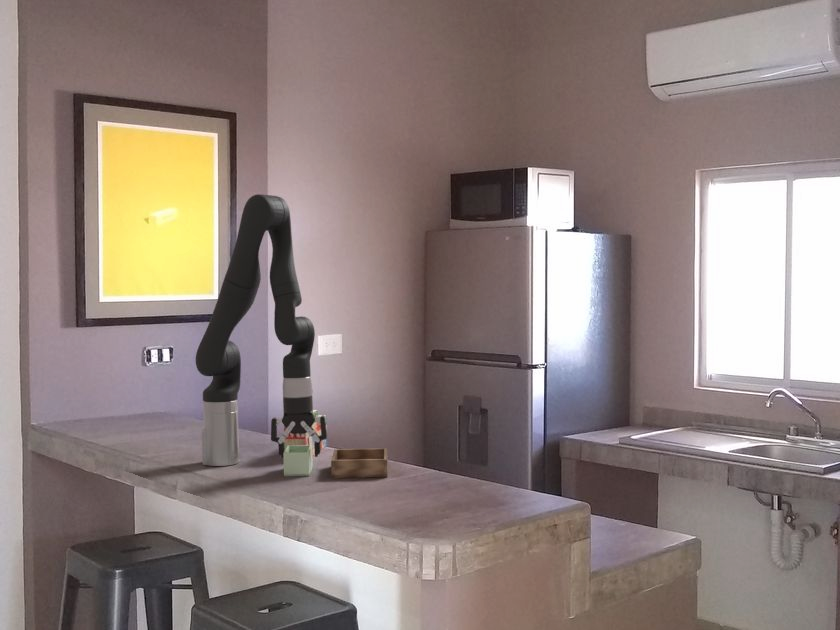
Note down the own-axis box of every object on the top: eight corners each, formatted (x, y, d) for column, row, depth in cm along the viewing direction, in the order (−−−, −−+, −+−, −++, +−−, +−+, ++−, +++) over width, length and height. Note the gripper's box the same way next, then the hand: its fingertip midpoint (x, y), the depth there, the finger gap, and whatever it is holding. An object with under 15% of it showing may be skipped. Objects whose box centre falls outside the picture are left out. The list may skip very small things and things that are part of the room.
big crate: (331, 478, 238) (331, 460, 237) (334, 466, 252) (334, 449, 252) (387, 477, 238) (387, 459, 238) (387, 465, 253) (387, 448, 252)
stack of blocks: (307, 445, 282) (306, 404, 281) (327, 446, 281) (327, 404, 280) (284, 460, 261) (283, 416, 260) (306, 461, 260) (305, 416, 259)
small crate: (283, 476, 240) (283, 453, 240) (288, 468, 250) (287, 445, 250) (309, 476, 241) (308, 452, 240) (312, 467, 251) (312, 445, 250)
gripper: (267, 397, 240) (270, 460, 241) (324, 395, 241) (326, 458, 242) (271, 393, 248) (274, 455, 249) (326, 391, 248) (328, 453, 249)
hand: (299, 456), depth 245 cm, fingers open, 8 cm apart
